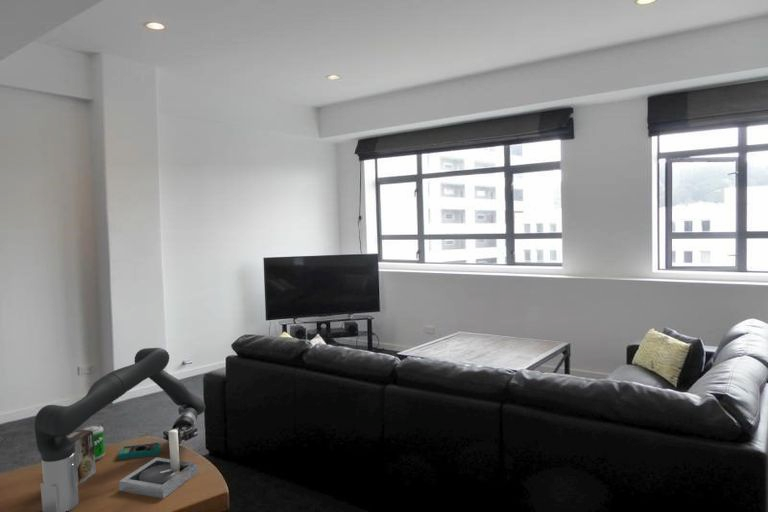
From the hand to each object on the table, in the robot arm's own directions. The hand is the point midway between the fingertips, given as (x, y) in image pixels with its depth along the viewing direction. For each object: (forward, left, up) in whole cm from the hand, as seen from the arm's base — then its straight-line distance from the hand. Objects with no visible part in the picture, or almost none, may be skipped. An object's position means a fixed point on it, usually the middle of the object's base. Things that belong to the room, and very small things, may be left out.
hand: (175, 443), depth 193 cm
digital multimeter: (+9, +25, -12) cm, 29 cm away
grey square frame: (-7, +2, -11) cm, 13 cm away
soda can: (+1, +39, -11) cm, 41 cm away
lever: (-7, +2, -11) cm, 13 cm away
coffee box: (-13, +31, -11) cm, 36 cm away
